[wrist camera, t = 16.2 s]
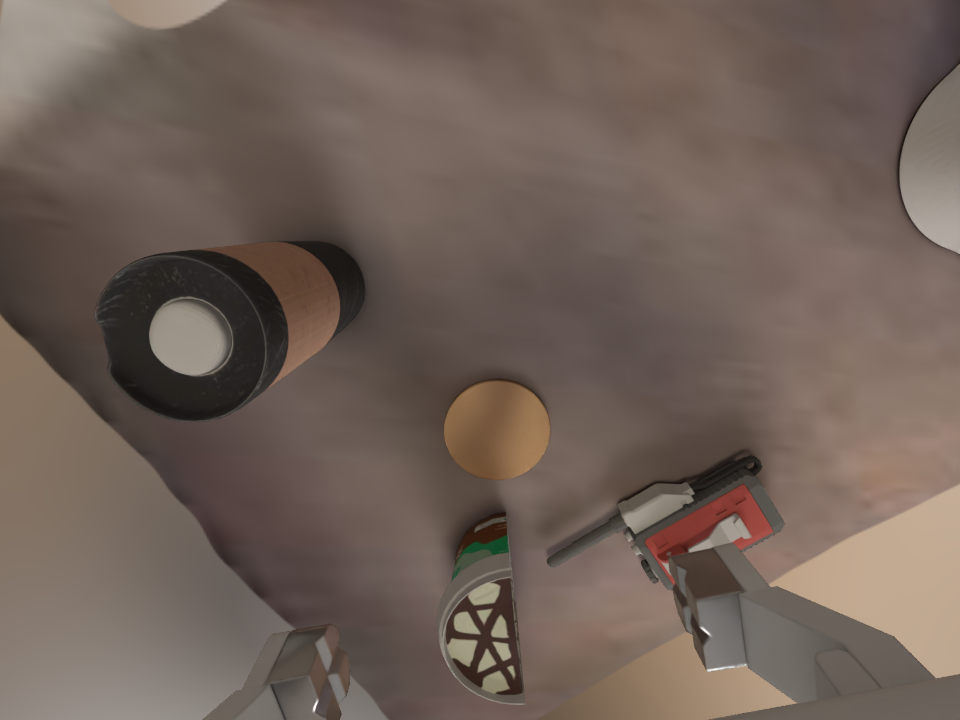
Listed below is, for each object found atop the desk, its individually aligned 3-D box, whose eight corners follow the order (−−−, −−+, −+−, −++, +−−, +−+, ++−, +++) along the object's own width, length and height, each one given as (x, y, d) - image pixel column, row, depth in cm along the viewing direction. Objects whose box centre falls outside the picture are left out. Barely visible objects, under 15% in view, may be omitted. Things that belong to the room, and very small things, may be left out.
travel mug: (388, 283, 41) (307, 335, 22) (329, 353, 43) (204, 459, 24) (311, 216, 40) (154, 209, 21) (253, 290, 42) (55, 348, 22)
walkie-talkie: (737, 430, 45) (539, 546, 47) (764, 451, 40) (545, 578, 43) (782, 506, 46) (590, 613, 49) (813, 534, 42) (600, 650, 45)
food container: (435, 504, 46) (423, 578, 37) (504, 497, 46) (510, 569, 36) (452, 620, 49) (445, 717, 40) (517, 614, 49) (526, 710, 40)
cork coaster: (538, 368, 43) (538, 370, 43) (558, 465, 45) (559, 468, 45) (432, 391, 44) (432, 393, 43) (458, 486, 46) (458, 489, 45)
